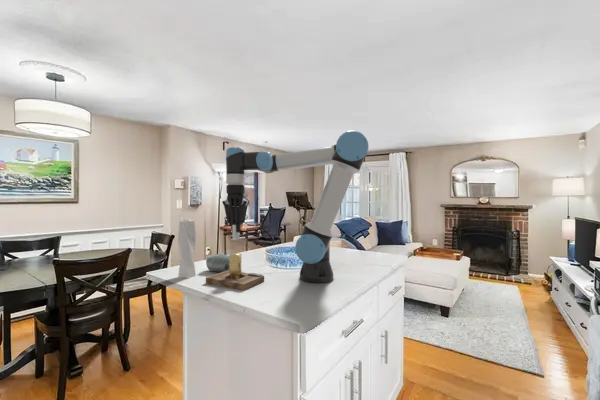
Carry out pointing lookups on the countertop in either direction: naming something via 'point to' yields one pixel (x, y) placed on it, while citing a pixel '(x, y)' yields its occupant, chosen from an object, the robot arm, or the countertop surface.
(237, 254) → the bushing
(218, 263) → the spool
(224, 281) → the jig
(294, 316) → the countertop surface
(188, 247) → the skyscraper
